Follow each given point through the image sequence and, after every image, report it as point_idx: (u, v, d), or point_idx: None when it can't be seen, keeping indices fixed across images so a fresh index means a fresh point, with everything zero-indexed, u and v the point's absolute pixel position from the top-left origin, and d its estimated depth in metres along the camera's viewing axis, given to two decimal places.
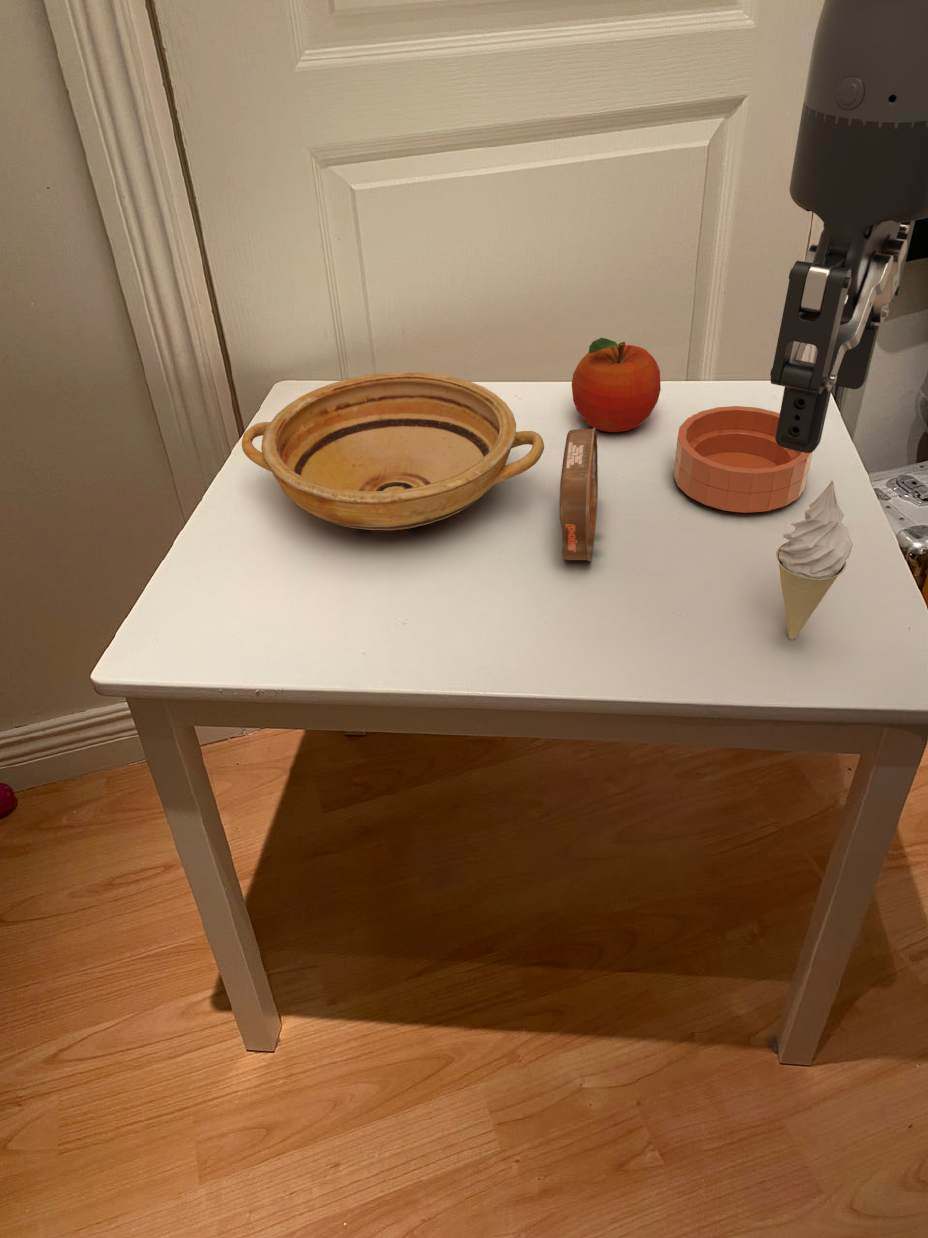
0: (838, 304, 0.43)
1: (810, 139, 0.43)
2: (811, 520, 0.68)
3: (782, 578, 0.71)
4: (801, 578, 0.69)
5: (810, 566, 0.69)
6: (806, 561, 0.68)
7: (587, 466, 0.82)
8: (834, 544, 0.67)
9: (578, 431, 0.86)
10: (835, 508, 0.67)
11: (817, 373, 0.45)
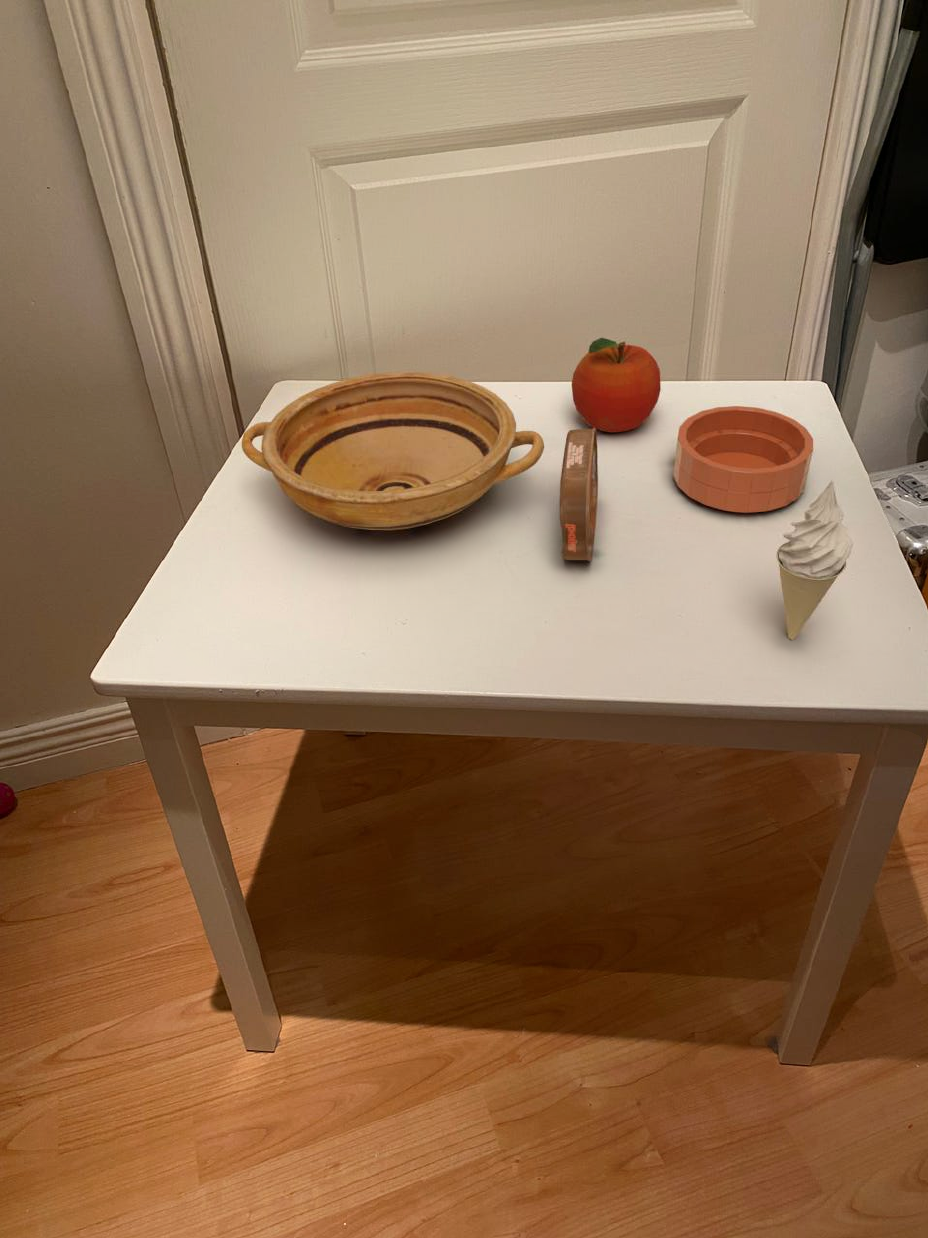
0: None
1: None
2: (811, 520, 0.68)
3: (782, 578, 0.71)
4: (801, 578, 0.69)
5: (810, 566, 0.69)
6: (806, 561, 0.68)
7: (587, 466, 0.82)
8: (834, 544, 0.67)
9: (578, 431, 0.86)
10: (835, 508, 0.67)
11: None
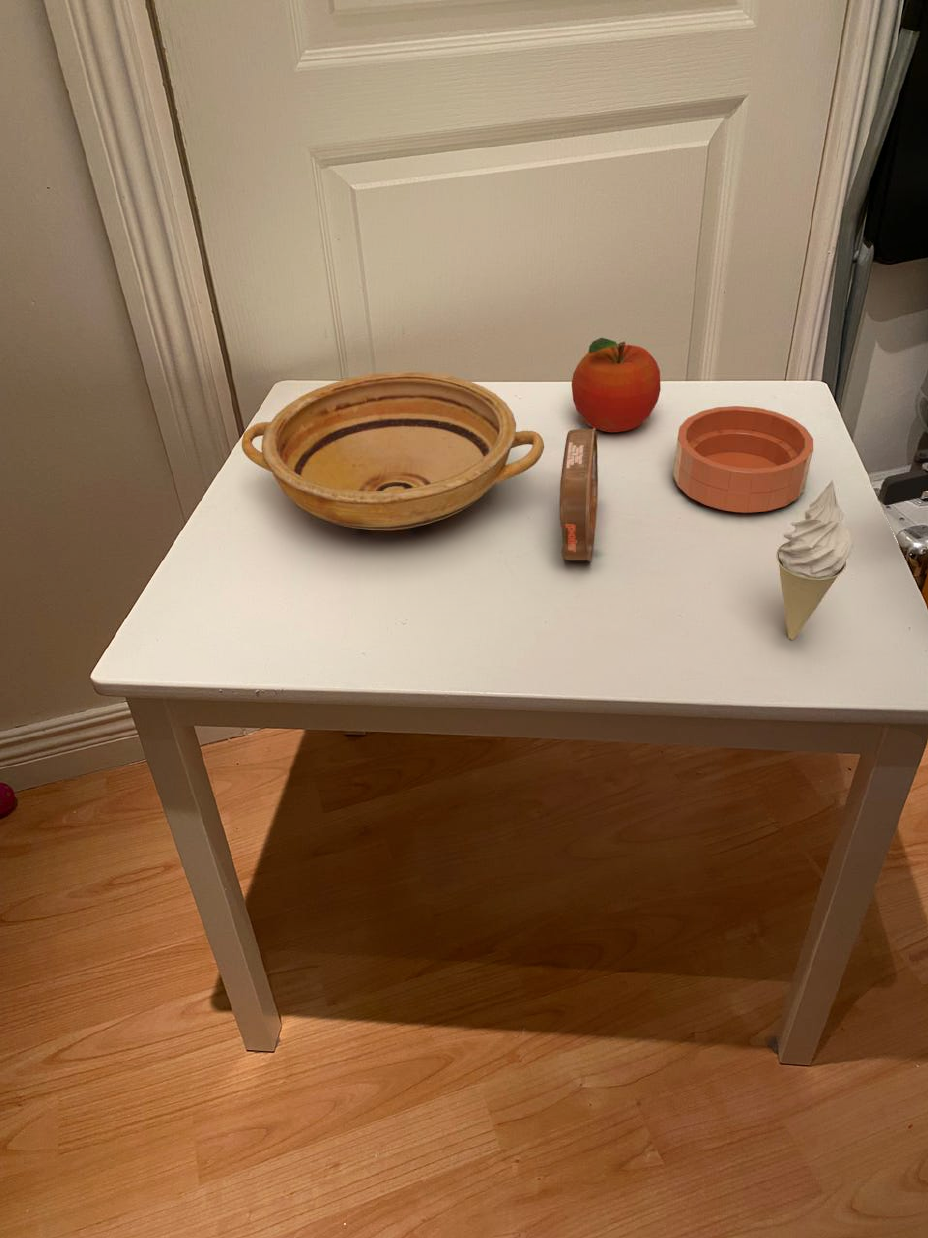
0: None
1: None
2: (811, 520, 0.68)
3: (782, 578, 0.71)
4: (801, 578, 0.69)
5: (810, 566, 0.69)
6: (806, 561, 0.68)
7: (587, 466, 0.82)
8: (834, 544, 0.67)
9: (578, 431, 0.86)
10: (835, 508, 0.67)
11: None
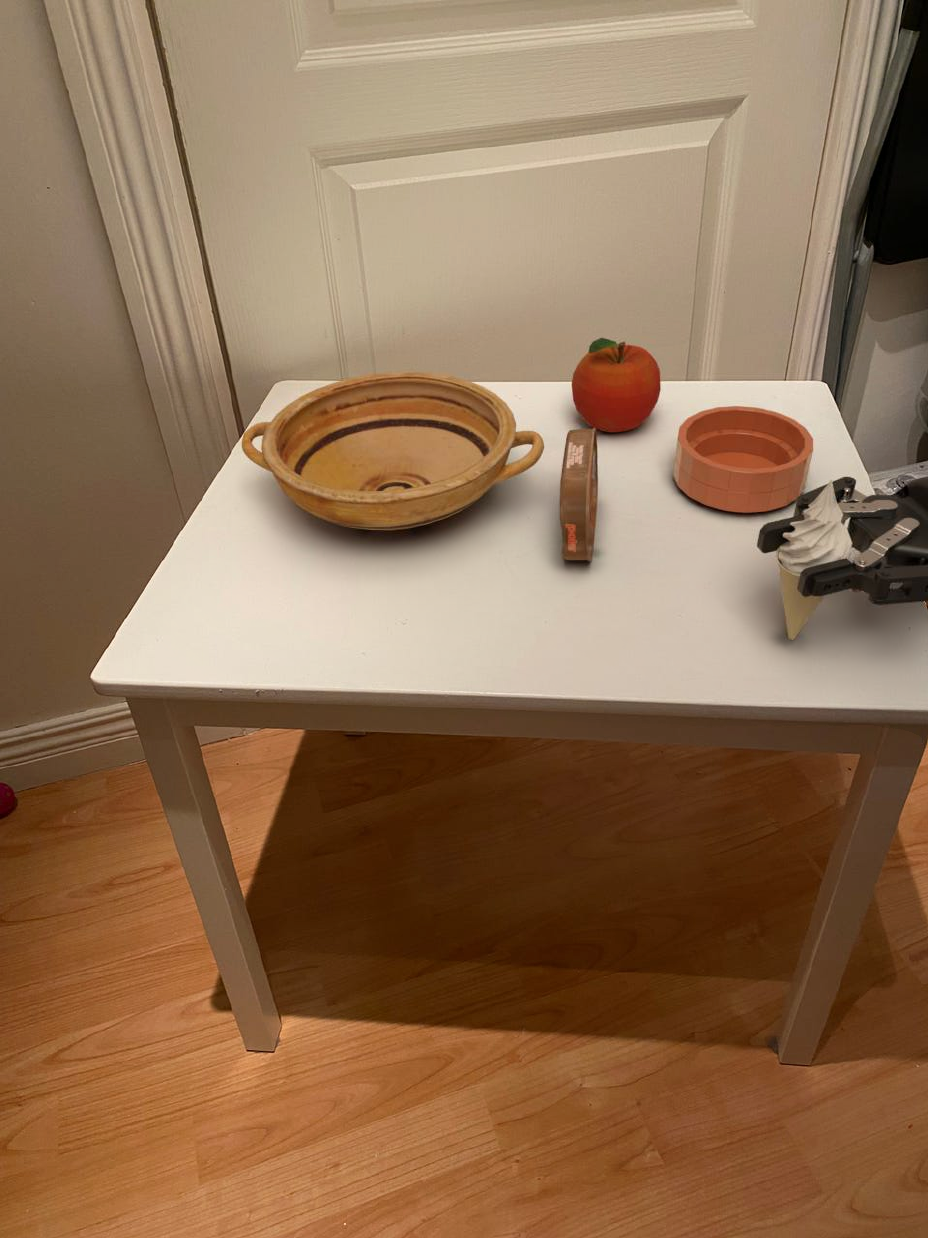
0: (835, 481, 0.75)
1: None
2: (810, 520, 0.68)
3: (782, 578, 0.71)
4: None
5: (810, 566, 0.69)
6: (806, 561, 0.68)
7: (587, 466, 0.82)
8: (833, 544, 0.67)
9: (578, 431, 0.86)
10: (834, 508, 0.67)
11: None
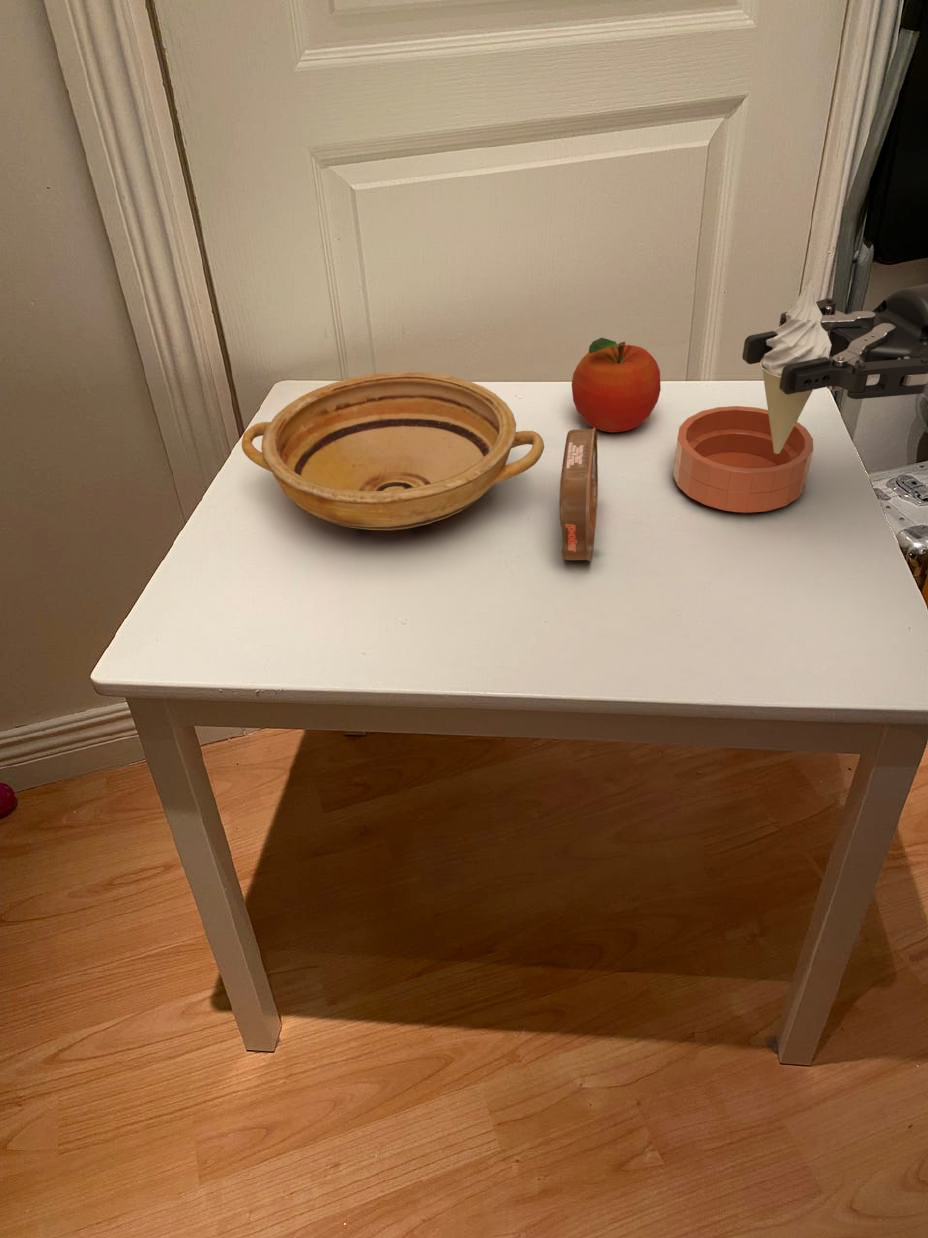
0: (818, 301, 0.79)
1: None
2: (791, 320, 0.72)
3: (766, 385, 0.75)
4: None
5: None
6: (787, 360, 0.72)
7: (587, 466, 0.82)
8: (813, 342, 0.71)
9: (578, 431, 0.86)
10: (814, 307, 0.71)
11: None
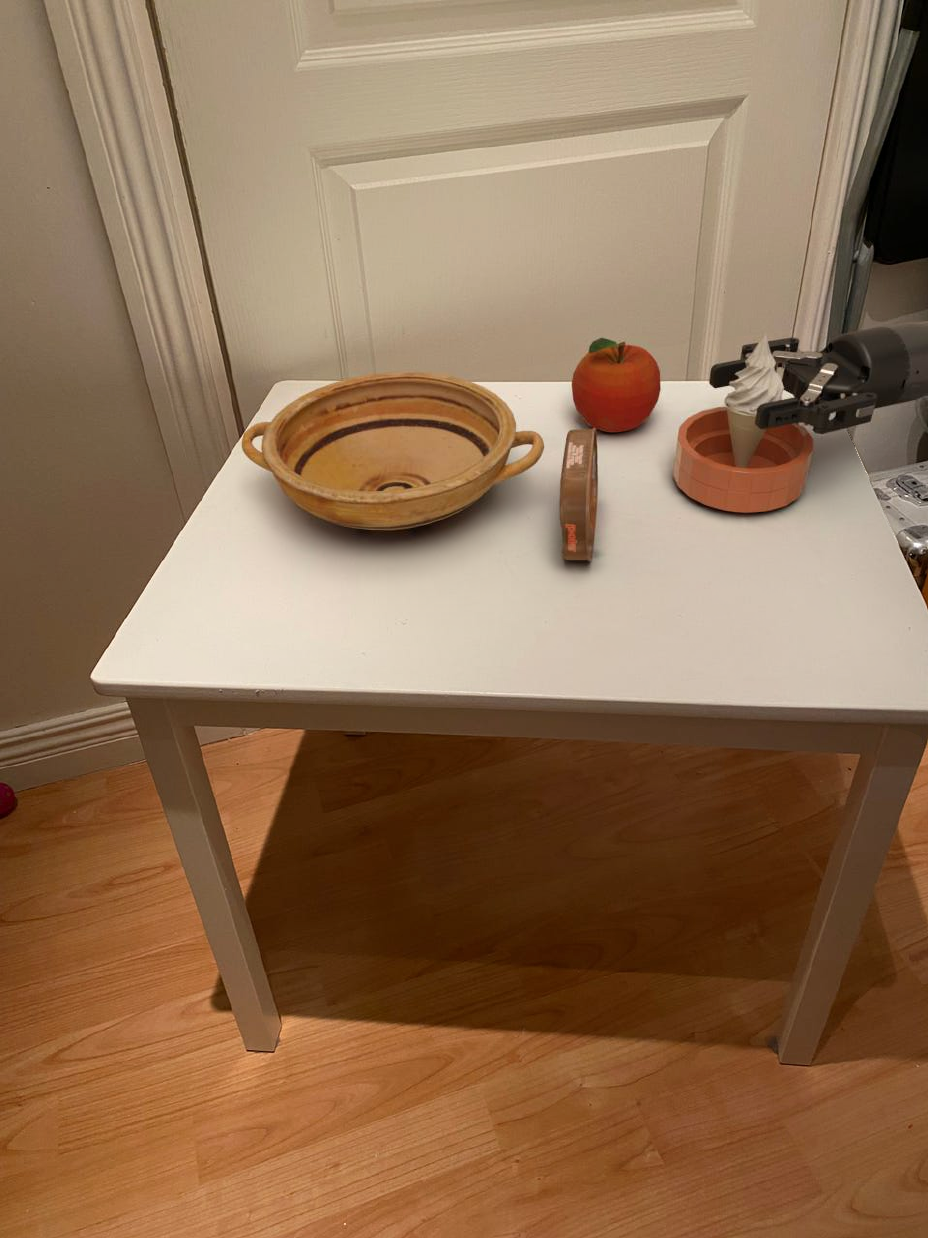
0: (782, 339, 0.93)
1: None
2: (750, 366, 0.85)
3: (729, 420, 0.89)
4: (743, 416, 0.86)
5: (750, 405, 0.86)
6: (746, 400, 0.85)
7: (587, 466, 0.82)
8: (768, 385, 0.85)
9: (578, 431, 0.86)
10: (768, 356, 0.84)
11: None
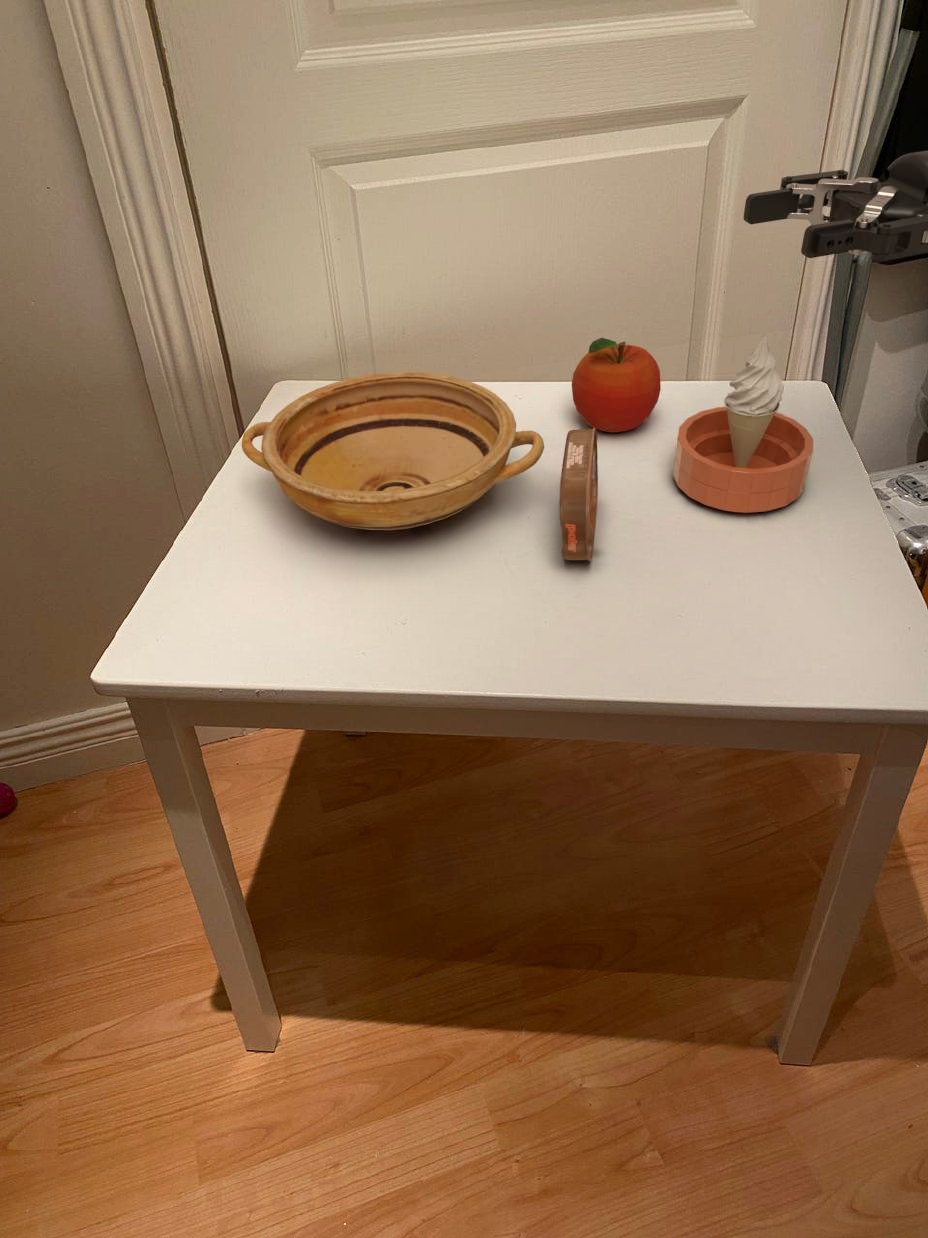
0: None
1: None
2: (750, 366, 0.85)
3: (729, 420, 0.89)
4: (743, 416, 0.86)
5: (750, 405, 0.86)
6: (746, 400, 0.85)
7: (587, 466, 0.82)
8: (768, 385, 0.85)
9: (578, 431, 0.86)
10: (768, 356, 0.84)
11: None
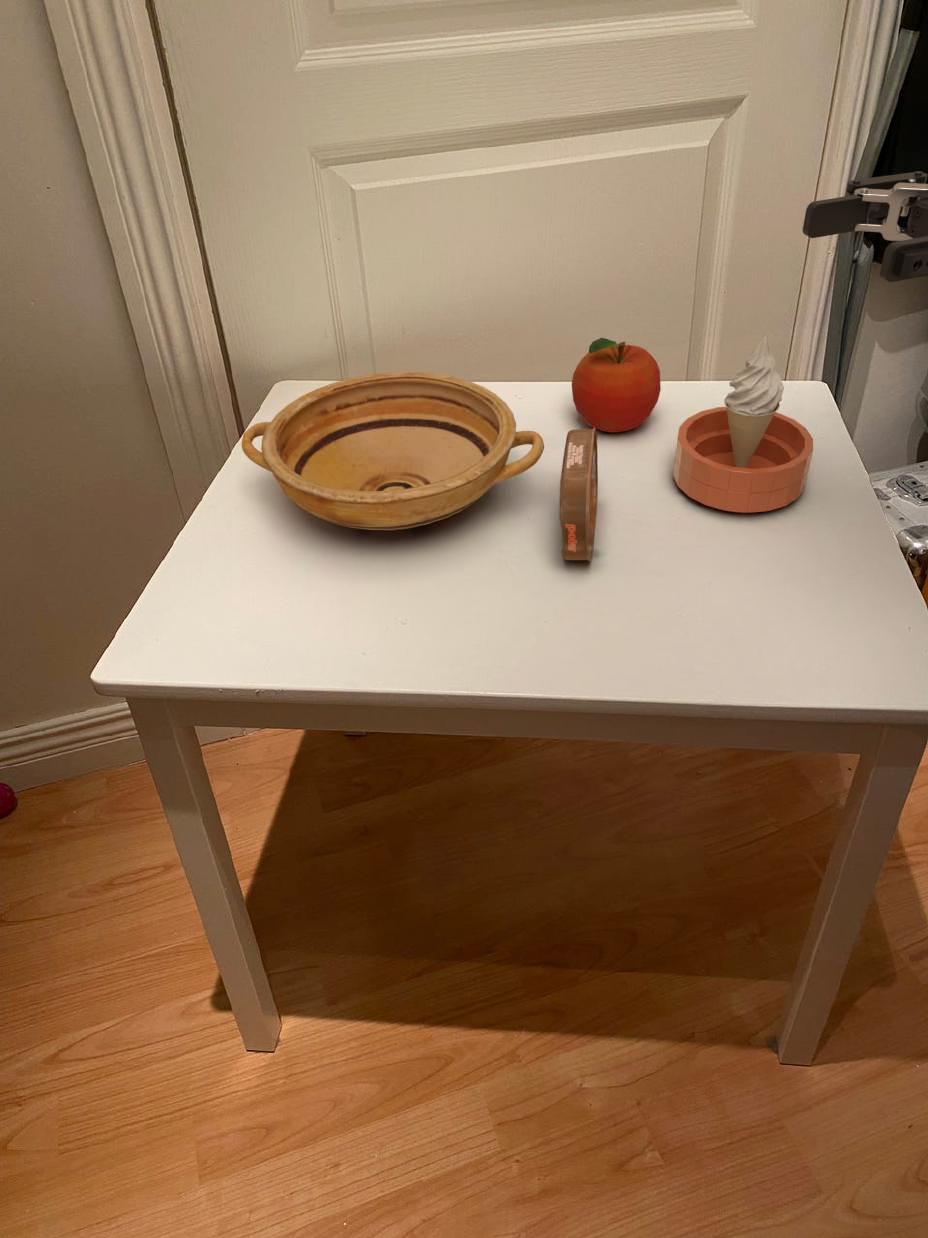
0: (902, 174, 0.66)
1: None
2: (750, 366, 0.85)
3: (729, 420, 0.89)
4: (743, 416, 0.86)
5: (750, 405, 0.86)
6: (746, 400, 0.85)
7: (587, 466, 0.82)
8: (768, 385, 0.85)
9: (578, 431, 0.86)
10: (768, 356, 0.84)
11: None
